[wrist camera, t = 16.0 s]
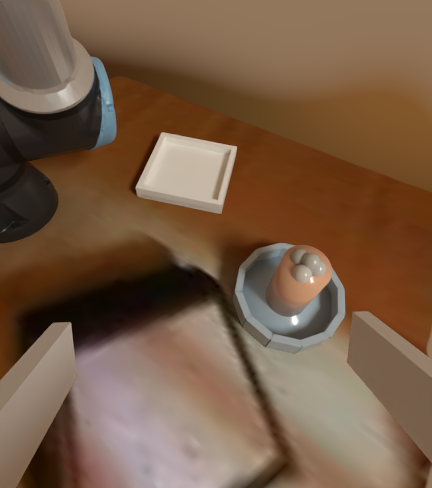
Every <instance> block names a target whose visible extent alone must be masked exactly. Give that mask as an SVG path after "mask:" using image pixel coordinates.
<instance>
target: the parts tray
mask: <svg viewBox="0 0 432 488" xmlns="http://www.w3.org/2000/svg"><path fill="white" fill-rule="evenodd" d="M236 151H237V147H235V146H230V145H225V144H220V143H215V142H209V141H204V140H199V139H194V138H189V137H184V136H178V135H173V134H168V133H163V132H162V133H161V135H160V137H159V140H158V142H157V144H156V146H155V148H154V150H153V152H152V154H151V156H150V158H149V160H148V162H147V164H146V167H145V169H144V171H143V173H142V175H141V177H140V179H139V181H138V183H137V185H136V187H135V188H136V192H137V197H141V198H146V199H151V200H156V201H160V202H165V203H170V204H175V205H180V206H185V207H190V208H194V209H199V210H204V211H209V212H214V213H219V214H221V212H222V208H223V204H224V200H225V196H226V192H227V188H228V184H229V181H230V177H231V173H232V169H233V165H234V161H235V157H236Z"/></svg>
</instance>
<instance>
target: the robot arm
mask: <svg viewBox="0 0 432 488" xmlns="http://www.w3.org/2000/svg"><path fill="white" fill-rule="evenodd" d="M115 136H116V116H115V110H114V107H113V97H112V92H111V88H110V84H109V80H108V77H107V74H106V71H105V68H104V66H103V64H102V62H101V61H100V60H99V59H98V58H96V57H91V56H89V54H88V53H87V51H86V50H85V49H84V47H83V46H82V45H81V44H80V43H79V42H78V41H76V40H75V39H73V38H72V37H71V35H70V31H69V28H68V25H67V22H66V18H65V15H64V12H63V8H62V5H61V2H60V0H0V243H7V242H12V241H16V240H20V239H23V238H25V237H27V236H30V235H31V234H33V233H35V232H37V231H38V230H40V229H41V228H42V227H43V226H45V225H46V224H47V223H48V222H49V220H50V219H51V218H52V217H53V215H54V213H55V211H56V209H57V206H58V195H57V192H56V190H55V188H54V186H53V185H52V183H51V181H50V180H49V179H48V178H47V177H46V176H45V175H44V174H43V173H41V172H40V171H39V170H38V169H36V168H35V167H34V166H33V165H31V164H30V163H29V162H28V161H31V160H36V159H41V158H46V157H51V156H56V155H61V154H66V153H72V152H77V151H83V150H93V149H96V148H97V147H100V146H104V145H108V144H110V143H112V142H113V140H114V139H115ZM347 363H348V364H349V365H350V366H351V368H352V369H353V370H354V371H355V372H356V374H357V375H358V376H359V377H360V378H361V379H362V381H363V382H364V383H365V384H366V385H367V387H368V388H369V389H370V390H371V391H372V392H373V394H374V395H375V396H376V397H377V398H378V400H379V401H380V402H381V403H382V404H383V405H384V407H385V408H386V409H387V410H388V411H389V413H390V414H391V415H392V416H393V417H394V419H395V420H396V421H397V422H398V423H399V424H400V426H401V427H402V428H403V429H404V430H405V432H406V433H407V434H408V435H409V436H410V437H411V439H412V440H413V441H414V442H415V443H416V445H417V446H418V447H419V448H420V449H421V450H422V452H423V453H424V454H425V455H426V456H427V458H428V459H429V460H430V461H431V462H432V360H431V359H430V358H429V357H427V356H426V355H425V354H423V353H422V352H421V351H420V350H418V349H417V348H416V347H414V346H413V345H412V344H410V343H409V342H408V341H406V340H405V339H404V338H402V337H401V336H400V335H399V334H397V333H396V332H395V331H393V330H392V329H391V328H389V327H388V326H387V325H385V324H384V323H383V322H381V321H380V320H379V319H378V318H376V317H375V316H374V315H372V314H371V313H370V312H368V311H363V312H353V316H352V324H351V333H350V342H349V350H348V359H347ZM76 377H77V373H76V364H75V355H74V346H73V337H72V329H71V322H65V323H52V324H51V325H50V327H49V328H48V329H47V330H46V331H45V332H44V333H43V334H42V335H41V336H40V338H39V339H38V340H37V341H36V342H35V343H34V344H33V345H32V346H31V347H30V349H29V350H28V351H27V352H26V353H25V354H24V355H23V356H22V357H21V358H20V360H19V361H18V362H17V363H16V364H15V365H14V366H13V367H12V368H11V369H10V370H9V372H8V373H7V374H6V375H5V376H4V377H3V378H2V379H1V380H0V488H16V486H17V485H18V483H19V481H20V479H21V477H22V476H23V474H24V472H25V470H26V468H27V466H28V465H29V463H30V461H31V459H32V457H33V456H34V454H35V452H36V450H37V448H38V446H39V445H40V443H41V441H42V439H43V437H44V436H45V434H46V432H47V430H48V428H49V426H50V425H51V423H52V421H53V419H54V417H55V416H56V414H57V412H58V410H59V408H60V406H61V405H62V403H63V401H64V399H65V397H66V396H67V394H68V392H69V390H70V388H71V386H72V385H73V383H74V381H75V379H76Z"/></svg>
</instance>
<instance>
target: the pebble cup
mask: <svg viewBox="0 0 432 488" xmlns="http://www.w3.org/2000/svg"><path fill="white" fill-rule="evenodd" d="M331 276H332V267H331V264H330V262H329V260H328V258H327V257H326V256H325V255H324V254H323V253H322V252H321V251H319V250H318V249H316V248H314V247H311V246H307V245H297V246H293V247H291V248H290V249H288V250H287V251H286V252H285V253H284V255H283V257H282V259H281V261H280V263H279V265H278V267H277V269H276V271H275V273H274V275H273V277H272V279H271V281H270V283H269V284H268V286H267V289H266V294H265V295H266V301H267V303H268V305H269V307H270V308H271V309H272V310H273V311H274V312H276V313H277V314H279V315H281V316H285V317H293V316H296V315H299V314H300V313H301V312H302V311H303V310H304V309H305V308H306V307H307V306H308V305H309V304H310V302H311V301H312V300H313V299H314V298H315V297H316V296H317V295H318V294H319V293H320V291H321V290H322V289H323V288H324V287H325V286H326V285H327V284H328V283H329V281H330V279H331Z"/></svg>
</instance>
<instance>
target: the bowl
mask: <svg viewBox="0 0 432 488" xmlns="http://www.w3.org/2000/svg"><path fill="white" fill-rule="evenodd" d="M293 246H295V245H290V244H285V243H278V244H274V245H270V246H266V247H262V248H258V249H256V250H255V251H254V252H253V253H252V254H251V255H250V256H249V257H248V258H247V259H246V260H245V261H244V262H243V263H242V264H241V265H240V267H239V271H238V274H237V278H236V283H235V289H234V294H233V299H232V300H233V304H234V307H235V309H236V312H237V315H238V317H239V320H240V323H241V325H242V326H243V328H244V329H245V330H246V331H247V332H249V333H250V334H251V335H252V336H253V337H254V338H255V339H257V340H258V341H259V342H260V343H261V344H262V345H263V346H265V345H266V347H267V348H272V349H276V350H281V351H285V352H289V353H298V352H301V351H304V350H307V349H310V348H312V347H315V346H318V345H321V344H322V343H324V342H325V341H326V340H328V339H329V338H331V336H332V335H333V333H334V332H335V330H336V329H337V327H338V326H339V324H340V323H341V321H342V320H343V318H344V317H345V292H344V287H343V285H342V284H341V282H340V280H339V279H338V277H337V275H336V273H335V272H334V270H333V268H332V276H331V279H330V281H329V283H328V284H327V285H326V286H325V287H324V288H323V289H322V290H321V291H320V293H319V294H318V295H317V296H316V297H315V298H314V299H313V300H312V301H311V302H310V304H309V305H308V306H307V307H306V308H305V309H304V310H303V311H302V312H301V313H300V314H299V315H296V316H293V317H285V316H281V315H279V314H277V313H276V312H274V311H273V310H272V309H271V308H270V307H269V305H268V303H267V301H266V295H265V294H266V289H267V286H268V284H269V283H270V281H271V279H272V277H273V275H274V273H275V271H276V269H277V267H278V265H279V263H280V261H281V259H282V257H283V255H284V253H285V252H286V251H287V250H288V249H290V248H291V247H293Z"/></svg>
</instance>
